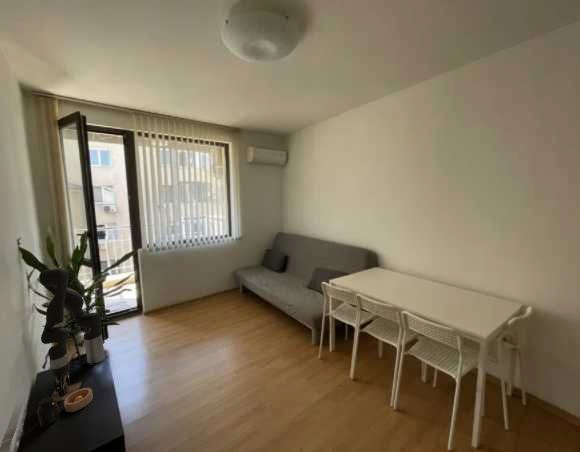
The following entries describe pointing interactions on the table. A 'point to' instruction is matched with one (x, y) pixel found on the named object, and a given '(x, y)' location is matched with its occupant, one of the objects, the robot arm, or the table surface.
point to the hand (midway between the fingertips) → (64, 390)
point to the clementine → (78, 398)
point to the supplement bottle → (48, 412)
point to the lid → (66, 391)
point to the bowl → (74, 406)
